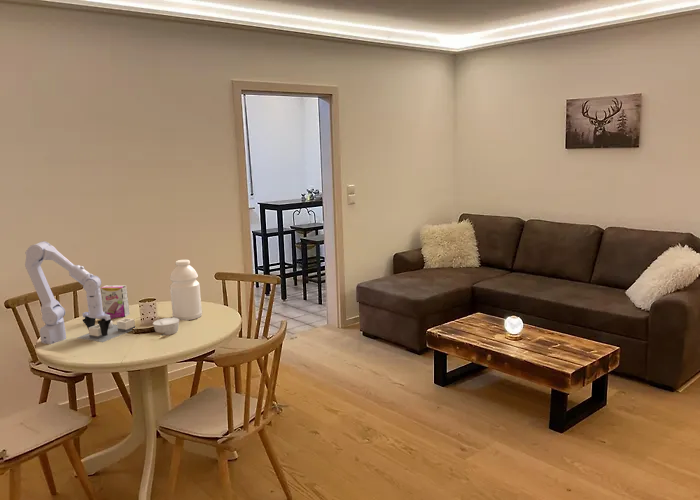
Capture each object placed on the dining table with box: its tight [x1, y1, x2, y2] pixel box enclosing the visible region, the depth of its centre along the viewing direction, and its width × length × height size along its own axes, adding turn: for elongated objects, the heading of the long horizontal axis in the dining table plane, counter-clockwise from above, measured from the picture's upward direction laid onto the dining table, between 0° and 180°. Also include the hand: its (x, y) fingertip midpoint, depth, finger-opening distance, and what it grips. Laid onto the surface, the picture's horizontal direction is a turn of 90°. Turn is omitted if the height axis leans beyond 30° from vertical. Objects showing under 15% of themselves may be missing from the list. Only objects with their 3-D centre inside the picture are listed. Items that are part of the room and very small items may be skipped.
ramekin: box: [152, 317, 180, 337], centre depth 256 cm, size 11×11×5 cm
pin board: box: [76, 320, 133, 343], centre depth 253 cm, size 20×16×4 cm
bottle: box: [169, 259, 203, 321], centre depth 276 cm, size 14×14×28 cm
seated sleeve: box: [116, 317, 136, 333], centre depth 256 cm, size 5×5×4 cm
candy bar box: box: [100, 284, 131, 320], centre depth 278 cm, size 11×5×16 cm, turn 84°
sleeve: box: [88, 323, 108, 339], centre depth 249 cm, size 5×5×4 cm
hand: (98, 334), depth 249 cm, fingers open, 7 cm apart
